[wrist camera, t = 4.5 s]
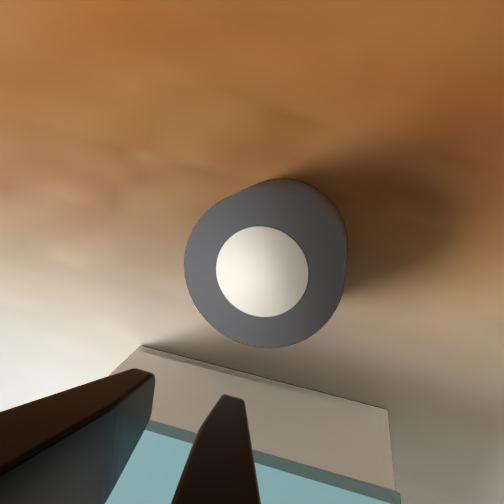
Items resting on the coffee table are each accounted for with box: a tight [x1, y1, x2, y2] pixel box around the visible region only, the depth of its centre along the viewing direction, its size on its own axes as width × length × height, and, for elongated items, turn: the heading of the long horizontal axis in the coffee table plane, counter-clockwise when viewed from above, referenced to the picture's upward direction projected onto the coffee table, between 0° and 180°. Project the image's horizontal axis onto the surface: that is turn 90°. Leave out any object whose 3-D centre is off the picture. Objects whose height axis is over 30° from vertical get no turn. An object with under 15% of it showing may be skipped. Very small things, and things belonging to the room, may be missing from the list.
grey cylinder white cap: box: [184, 179, 348, 348], centre depth 18 cm, size 6×6×5 cm
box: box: [109, 346, 396, 492], centre depth 21 cm, size 10×12×5 cm
